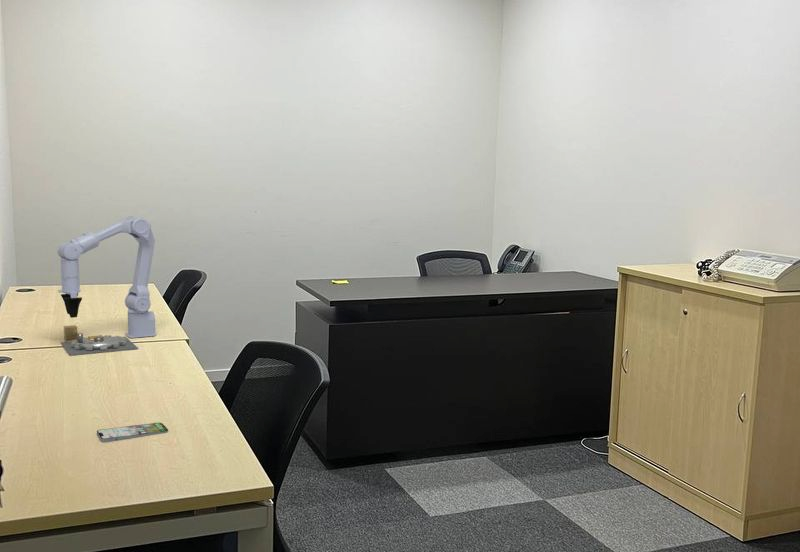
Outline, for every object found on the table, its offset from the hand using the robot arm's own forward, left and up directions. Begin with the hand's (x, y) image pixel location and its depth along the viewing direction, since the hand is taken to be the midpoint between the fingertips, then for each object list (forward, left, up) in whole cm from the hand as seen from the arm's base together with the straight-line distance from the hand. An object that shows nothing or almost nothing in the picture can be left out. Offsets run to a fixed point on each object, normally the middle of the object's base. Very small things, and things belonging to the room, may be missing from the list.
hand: (72, 315), depth 268 cm
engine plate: (-7, +8, -10) cm, 15 cm away
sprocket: (-7, +8, -10) cm, 15 cm away
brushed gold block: (0, -7, -10) cm, 13 cm away
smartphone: (+2, +105, -11) cm, 106 cm away
